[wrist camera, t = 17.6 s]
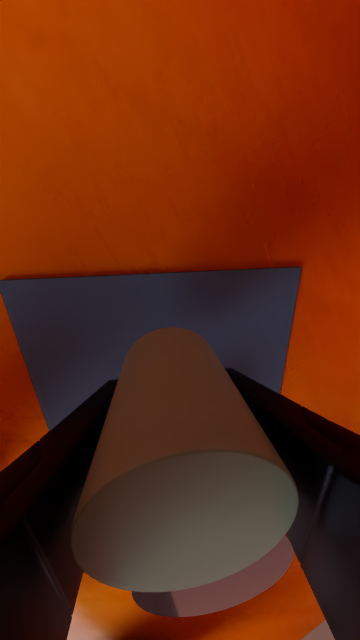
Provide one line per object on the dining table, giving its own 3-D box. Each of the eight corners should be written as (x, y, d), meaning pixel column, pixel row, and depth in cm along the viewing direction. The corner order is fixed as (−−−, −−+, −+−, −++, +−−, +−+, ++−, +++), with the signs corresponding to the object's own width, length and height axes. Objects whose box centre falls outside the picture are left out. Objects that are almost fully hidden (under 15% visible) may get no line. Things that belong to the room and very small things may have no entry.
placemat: (298, 266, 13) (302, 266, 13) (268, 444, 19) (270, 448, 19) (1, 279, 11) (-5, 280, 11) (68, 474, 17) (66, 479, 17)
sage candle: (217, 323, 9) (321, 432, 3) (214, 401, 10) (282, 568, 5) (116, 330, 8) (36, 473, 3) (129, 411, 10) (93, 611, 4)
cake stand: (271, 450, 20) (308, 511, 15) (257, 530, 24) (281, 595, 20) (129, 472, 18) (119, 548, 13) (144, 553, 23) (140, 630, 18)
